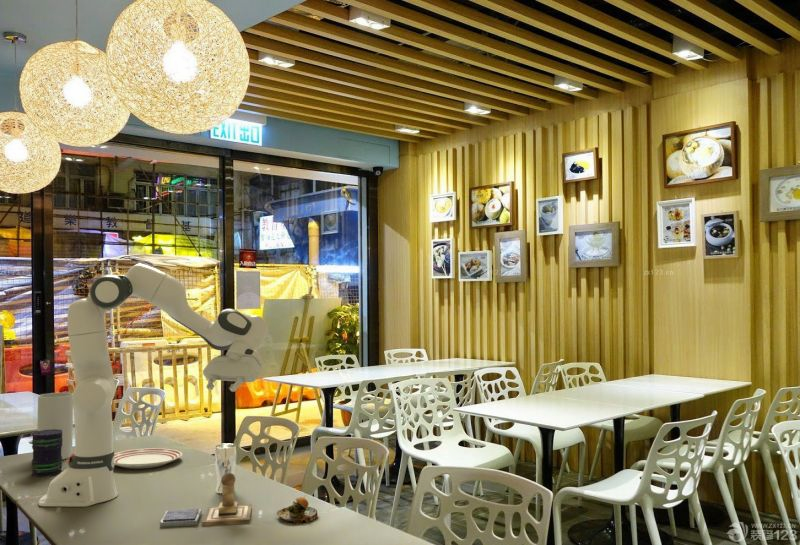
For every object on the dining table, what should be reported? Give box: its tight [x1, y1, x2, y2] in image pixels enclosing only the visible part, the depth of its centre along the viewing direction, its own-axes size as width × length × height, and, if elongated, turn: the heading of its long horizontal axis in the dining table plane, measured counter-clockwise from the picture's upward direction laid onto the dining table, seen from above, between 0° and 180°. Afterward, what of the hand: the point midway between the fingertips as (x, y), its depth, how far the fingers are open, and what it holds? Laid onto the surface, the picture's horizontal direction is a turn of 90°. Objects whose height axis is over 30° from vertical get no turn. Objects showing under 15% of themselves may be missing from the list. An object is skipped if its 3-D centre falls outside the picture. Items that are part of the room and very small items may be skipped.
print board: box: [201, 504, 253, 527], centre depth 195 cm, size 13×13×1 cm
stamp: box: [218, 473, 239, 516], centre depth 195 cm, size 5×5×12 cm
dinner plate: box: [114, 447, 183, 470], centre depth 258 cm, size 28×27×3 cm
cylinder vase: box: [36, 392, 74, 461], centre depth 266 cm, size 12×12×25 cm
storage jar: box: [31, 429, 63, 478], centre depth 243 cm, size 10×10×15 cm
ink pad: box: [159, 508, 202, 528], centre depth 192 cm, size 10×10×2 cm
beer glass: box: [214, 443, 237, 495], centre depth 221 cm, size 7×7×15 cm
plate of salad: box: [276, 491, 318, 525], centre depth 195 cm, size 12×12×8 cm
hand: (220, 389), depth 216 cm, fingers open, 8 cm apart
